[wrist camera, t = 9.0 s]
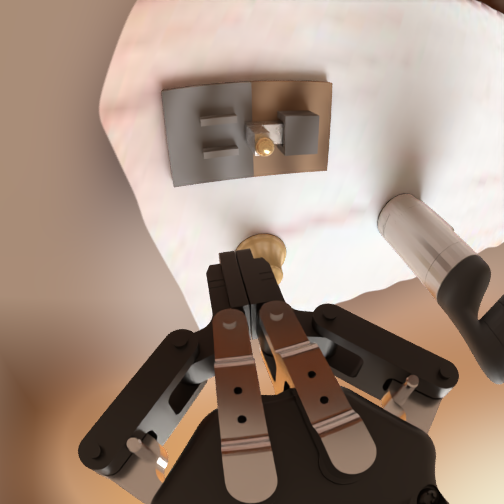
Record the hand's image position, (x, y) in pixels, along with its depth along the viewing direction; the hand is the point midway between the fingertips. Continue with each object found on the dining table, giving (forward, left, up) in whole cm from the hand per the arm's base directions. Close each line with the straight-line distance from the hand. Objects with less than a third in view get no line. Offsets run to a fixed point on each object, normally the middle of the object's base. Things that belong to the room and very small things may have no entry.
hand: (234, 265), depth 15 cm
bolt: (-9, 0, -23) cm, 25 cm away
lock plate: (-6, 0, -25) cm, 26 cm away
